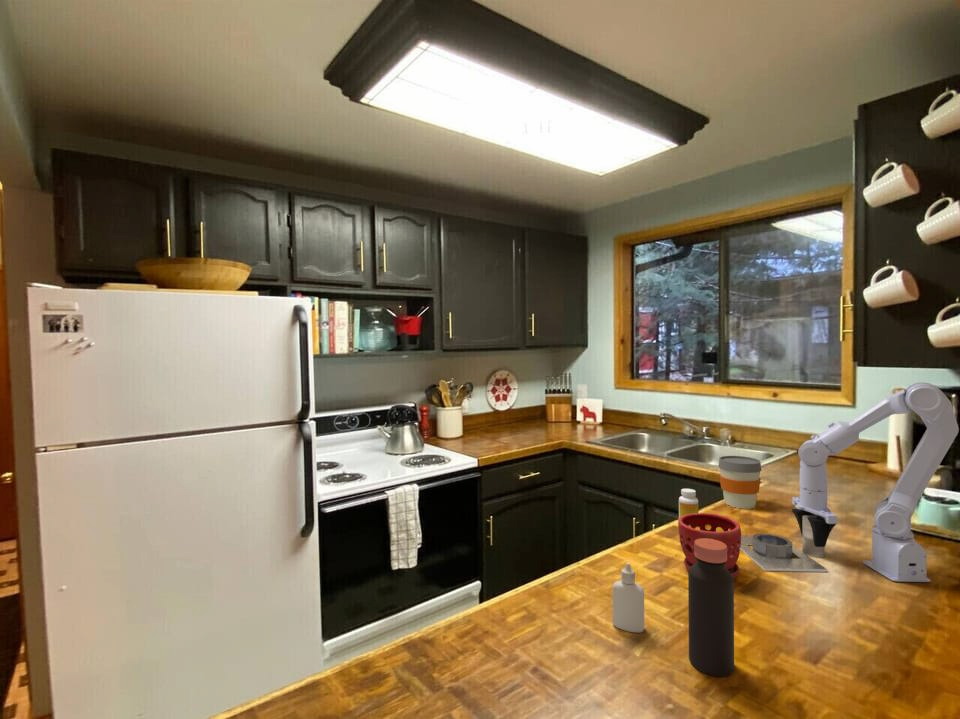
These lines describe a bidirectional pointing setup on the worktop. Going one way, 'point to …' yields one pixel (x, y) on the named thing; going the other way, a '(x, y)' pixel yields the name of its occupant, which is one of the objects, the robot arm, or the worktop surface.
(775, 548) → the collar stand
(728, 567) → the plant pot
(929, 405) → the robot arm
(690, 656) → the dark water bottle
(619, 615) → the eye dropper bottle
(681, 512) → the supplement bottle
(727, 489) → the reusable coffee cup
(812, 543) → the peg
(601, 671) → the worktop surface
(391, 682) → the worktop surface
